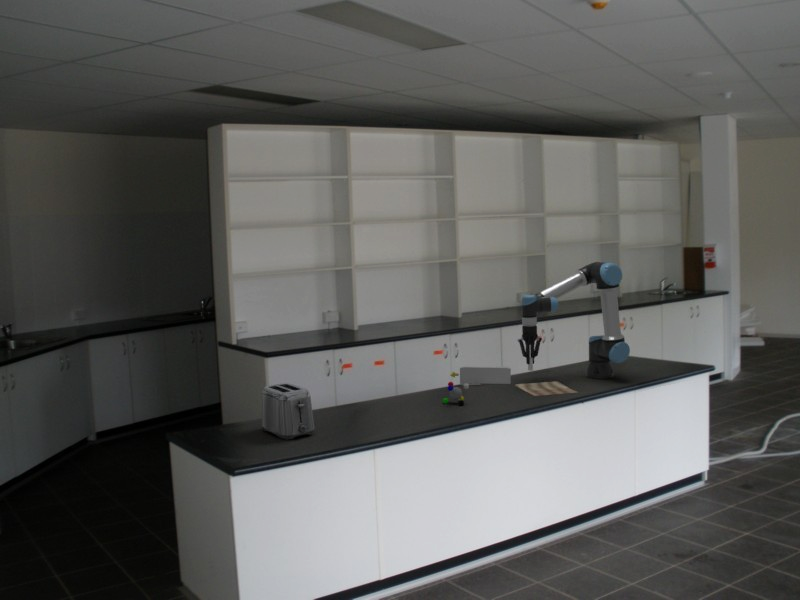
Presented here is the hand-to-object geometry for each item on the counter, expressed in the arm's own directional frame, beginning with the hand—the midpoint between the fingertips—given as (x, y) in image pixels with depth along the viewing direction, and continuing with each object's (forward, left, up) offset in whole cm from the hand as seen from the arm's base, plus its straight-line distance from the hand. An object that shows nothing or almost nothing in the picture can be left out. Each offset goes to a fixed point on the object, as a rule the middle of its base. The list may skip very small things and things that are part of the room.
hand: (530, 370), depth 396 cm
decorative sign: (+21, -19, -11) cm, 30 cm away
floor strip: (-6, +14, -10) cm, 18 cm away
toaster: (+131, +43, -10) cm, 138 cm away
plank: (-6, +2, -10) cm, 11 cm away
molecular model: (+46, +17, -10) cm, 51 cm away
